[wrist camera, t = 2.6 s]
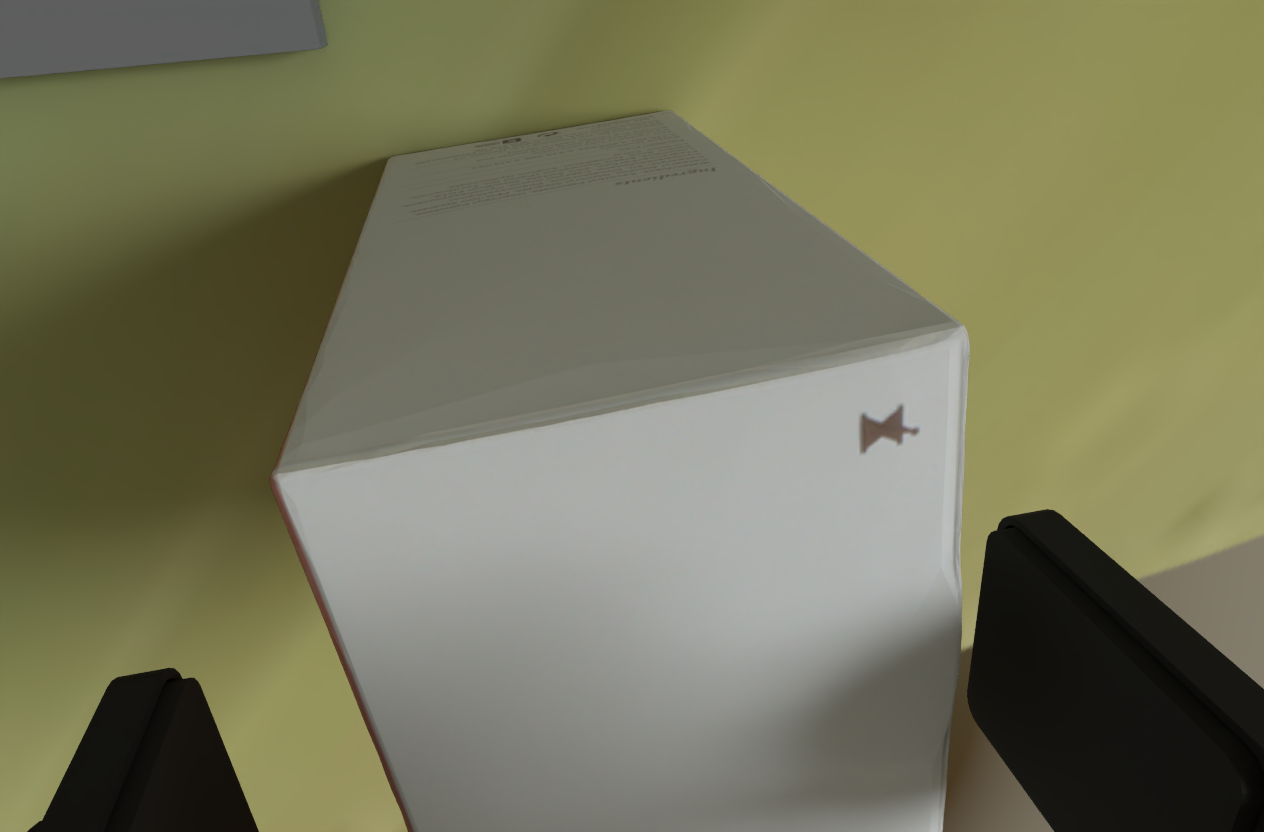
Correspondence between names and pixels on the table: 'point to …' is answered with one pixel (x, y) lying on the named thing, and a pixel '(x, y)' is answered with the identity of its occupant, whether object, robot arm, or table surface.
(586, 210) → the small box
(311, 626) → the table surface
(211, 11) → the rest mat
